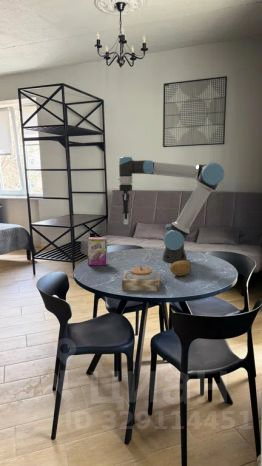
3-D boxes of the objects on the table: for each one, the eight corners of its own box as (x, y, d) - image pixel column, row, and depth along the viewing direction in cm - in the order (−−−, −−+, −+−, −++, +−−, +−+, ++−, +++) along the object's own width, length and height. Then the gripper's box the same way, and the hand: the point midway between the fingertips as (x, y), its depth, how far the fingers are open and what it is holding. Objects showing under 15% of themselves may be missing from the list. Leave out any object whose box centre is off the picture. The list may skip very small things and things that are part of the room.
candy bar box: (87, 265, 191) (87, 238, 188) (89, 263, 195) (89, 237, 193) (106, 266, 189) (105, 239, 187) (107, 263, 194) (107, 237, 191)
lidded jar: (153, 288, 152) (153, 269, 150) (131, 289, 151) (131, 270, 149) (150, 281, 162) (150, 263, 160) (129, 281, 161) (129, 264, 160)
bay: (158, 280, 163) (158, 271, 162) (159, 290, 148) (159, 280, 148) (124, 280, 164) (124, 270, 163) (122, 290, 149) (122, 280, 148)
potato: (195, 273, 174) (195, 259, 173) (181, 280, 164) (181, 265, 162) (180, 270, 180) (180, 256, 179) (165, 276, 170) (166, 261, 169)
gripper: (120, 183, 193) (120, 222, 197) (118, 184, 180) (118, 225, 184) (132, 183, 192) (132, 222, 196) (131, 184, 179) (131, 225, 183)
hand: (126, 224), depth 190 cm, fingers closed
